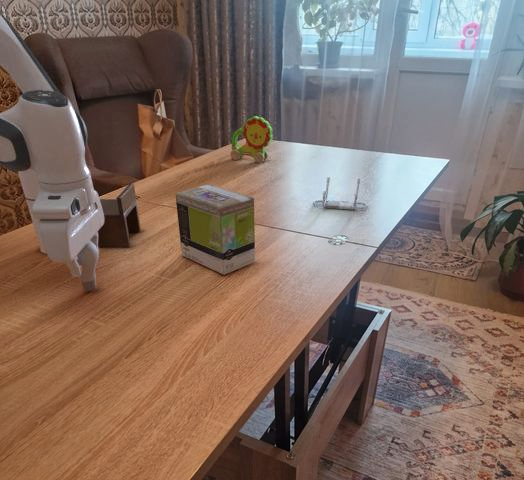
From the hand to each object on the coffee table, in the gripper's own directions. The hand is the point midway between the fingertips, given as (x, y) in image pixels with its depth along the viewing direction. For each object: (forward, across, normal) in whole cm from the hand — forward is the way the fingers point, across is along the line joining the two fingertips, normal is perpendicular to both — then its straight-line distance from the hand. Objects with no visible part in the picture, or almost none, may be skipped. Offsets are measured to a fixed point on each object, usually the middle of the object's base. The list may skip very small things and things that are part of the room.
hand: (86, 264), depth 94 cm
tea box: (+6, -16, +24) cm, 29 cm away
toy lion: (+6, -103, +26) cm, 106 cm away
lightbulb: (+6, 0, 0) cm, 6 cm away
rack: (+6, -27, -4) cm, 28 cm away
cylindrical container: (+6, -21, -16) cm, 27 cm away
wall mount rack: (+6, -55, +55) cm, 78 cm away
